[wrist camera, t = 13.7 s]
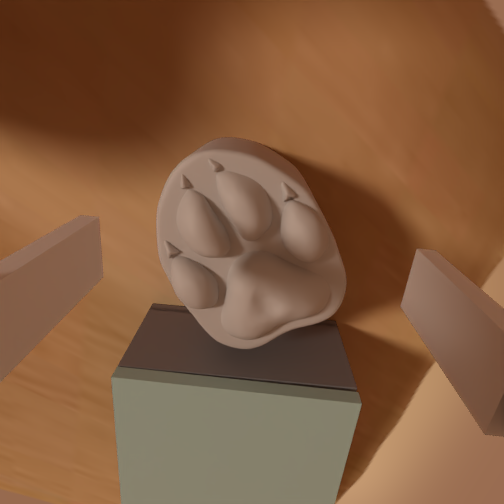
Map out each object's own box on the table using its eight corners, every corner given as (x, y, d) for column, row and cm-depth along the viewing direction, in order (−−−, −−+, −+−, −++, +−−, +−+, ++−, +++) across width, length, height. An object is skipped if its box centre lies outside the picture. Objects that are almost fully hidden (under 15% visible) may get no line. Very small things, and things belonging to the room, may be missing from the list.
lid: (117, 366, 24) (111, 377, 23) (358, 392, 24) (361, 403, 23) (130, 547, 31) (125, 561, 31) (311, 568, 31) (313, 582, 30)
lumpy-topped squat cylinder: (231, 308, 31) (219, 378, 23) (148, 175, 27) (99, 205, 19) (343, 259, 29) (372, 318, 21) (272, 106, 25) (275, 108, 17)
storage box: (152, 303, 31) (118, 365, 24) (335, 320, 31) (357, 387, 24) (156, 462, 39) (130, 546, 32) (302, 476, 39) (311, 563, 32)
